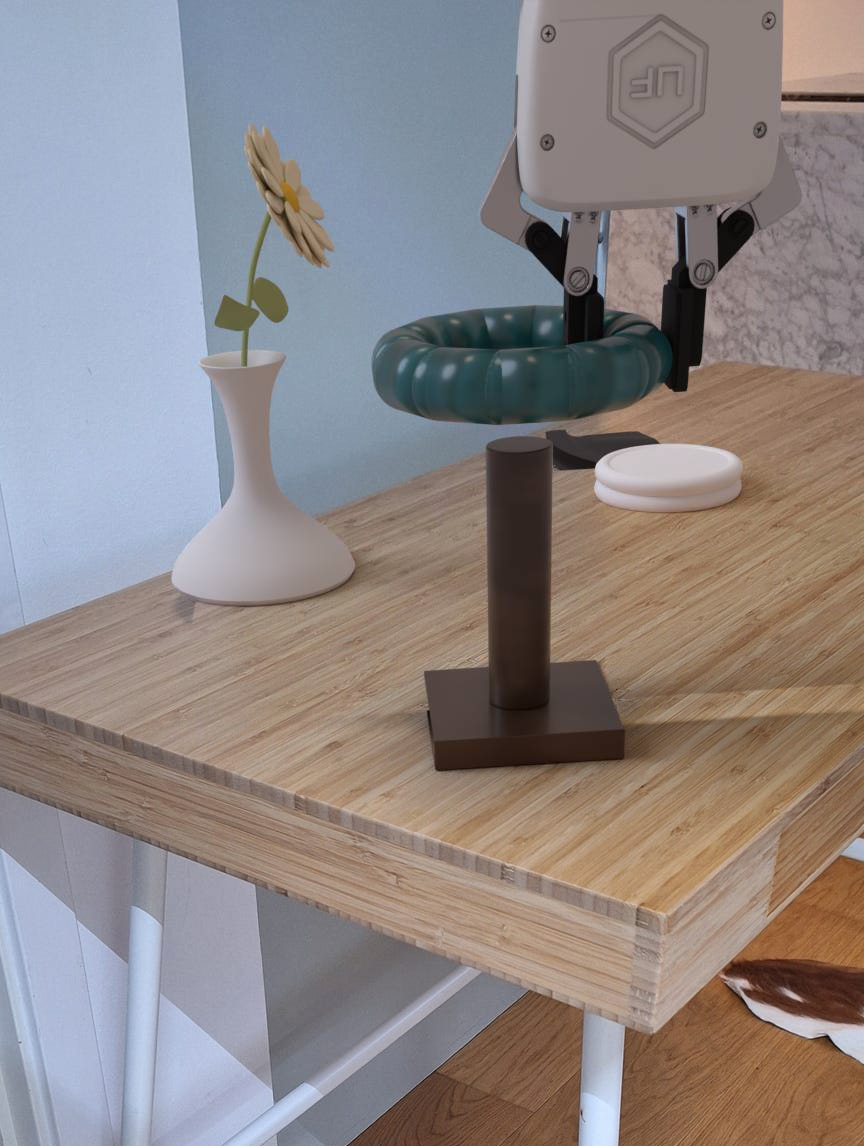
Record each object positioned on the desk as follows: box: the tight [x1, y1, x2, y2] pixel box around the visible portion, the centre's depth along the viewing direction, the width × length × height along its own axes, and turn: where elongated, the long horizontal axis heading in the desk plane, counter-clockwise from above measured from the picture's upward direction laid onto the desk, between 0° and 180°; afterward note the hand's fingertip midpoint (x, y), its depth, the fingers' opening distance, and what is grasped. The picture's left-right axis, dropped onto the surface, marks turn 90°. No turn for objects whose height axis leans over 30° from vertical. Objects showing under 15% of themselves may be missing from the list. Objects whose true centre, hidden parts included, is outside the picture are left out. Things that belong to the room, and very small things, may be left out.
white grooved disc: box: [593, 443, 744, 514], centre depth 101 cm, size 10×10×4 cm
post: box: [423, 435, 626, 771], centre depth 70 cm, size 9×9×14 cm
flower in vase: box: [170, 123, 356, 607], centre depth 85 cm, size 13×11×25 cm
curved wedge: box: [544, 429, 661, 472], centre depth 111 cm, size 8×14×2 cm, turn 9°
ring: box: [370, 304, 673, 426], centre depth 64 cm, size 13×13×3 cm
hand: (630, 384), depth 64 cm, fingers closed on ring, 3 cm apart
